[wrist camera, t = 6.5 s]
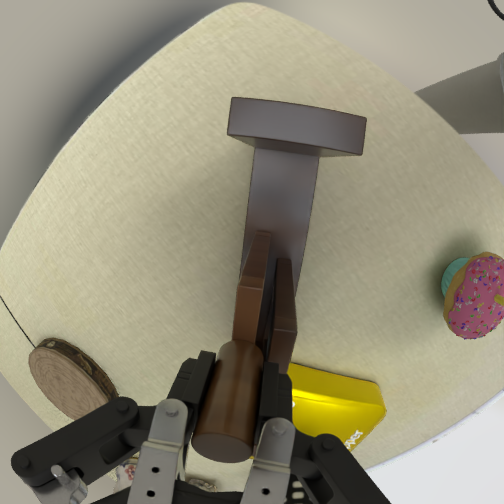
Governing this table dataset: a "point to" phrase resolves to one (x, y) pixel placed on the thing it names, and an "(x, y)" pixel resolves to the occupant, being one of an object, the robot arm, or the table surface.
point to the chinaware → (127, 473)
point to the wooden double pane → (286, 199)
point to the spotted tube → (296, 492)
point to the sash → (236, 372)
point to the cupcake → (474, 295)
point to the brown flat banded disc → (70, 378)
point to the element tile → (334, 405)
